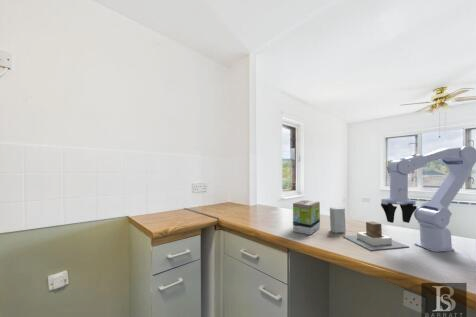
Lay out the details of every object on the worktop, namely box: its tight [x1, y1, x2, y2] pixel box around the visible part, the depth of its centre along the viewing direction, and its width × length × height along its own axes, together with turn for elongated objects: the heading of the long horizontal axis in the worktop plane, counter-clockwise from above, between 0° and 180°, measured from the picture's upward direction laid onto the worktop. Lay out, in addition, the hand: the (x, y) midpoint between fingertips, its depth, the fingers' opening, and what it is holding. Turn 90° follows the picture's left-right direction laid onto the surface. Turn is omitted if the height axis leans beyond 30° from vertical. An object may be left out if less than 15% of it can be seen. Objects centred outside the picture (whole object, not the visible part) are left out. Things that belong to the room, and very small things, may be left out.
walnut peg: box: [365, 221, 383, 238], centre depth 89 cm, size 4×4×8 cm
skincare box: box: [329, 206, 347, 234], centre depth 104 cm, size 6×4×12 cm
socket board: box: [342, 231, 410, 252], centre depth 89 cm, size 18×16×3 cm
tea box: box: [292, 199, 321, 236], centre depth 108 cm, size 15×10×15 cm
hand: (398, 222), depth 83 cm, fingers open, 7 cm apart
